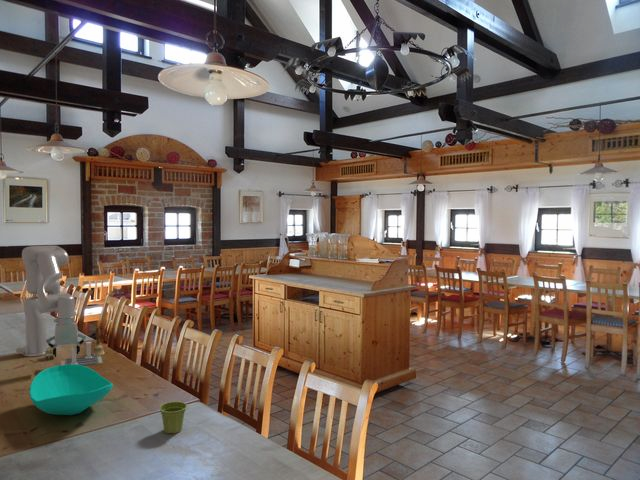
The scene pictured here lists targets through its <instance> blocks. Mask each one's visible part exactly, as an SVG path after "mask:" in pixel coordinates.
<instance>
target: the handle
mask: <svg viewBox="0 0 640 480" xmlns="http://www.w3.org/2000/svg"><path fill="white" fill-rule="evenodd" d="M85 346H86V356H87V357H86V358H92V357H91V356H92V341H87V342H85Z"/></svg>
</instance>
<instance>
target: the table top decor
mask: <svg viewBox="0 0 640 480" xmlns="http://www.w3.org/2000/svg"><path fill="white" fill-rule="evenodd" d="M29 386H30V387H29V393H28V394H29V396H30V400H31V402H32V404H33V405H34V406H35V407H36V408H38V409H39V410H41V411H42V412H45V413H47V414H50V415H59V416H60V415H61V416H73V415H78V414H81V413H82V412H83V411H85V410H86V409H88V408H89V407H91V406H93V405H95V404H96V403H98V402H99V401H102V399H104V398H105V397H106V396H107V395H108V394H109V393H110V392H111V391H112V389H113V387H114V383H112V382H111V381H110V380H108V379H106V378H105V377H103V376H102V375H101V374H99V373H98V372H97V371H96V370H94V369H93V368H90V367H88V366H87V365H85V366H82V365H77V364H67V365H60V364H59V365H54V366H52V367H48V368H46V369H44V370H42V371H40V372H39V373H38V374H37V375H35V377H33V379H32V382H31V384H30V385H29Z"/></svg>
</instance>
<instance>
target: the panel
mask: <svg viewBox="0 0 640 480" xmlns="http://www.w3.org/2000/svg"><path fill="white" fill-rule="evenodd" d="M86 357H87V355H84V356H76V363H78V364H77V365H82V366H92V365H100V364H101V365H102V364H104V361H103V357H102V356H101V355H97V356H96V355H91V357H92V358H86ZM59 363H60V364H59V365H67V364H71V363H72V357H71V358H69V357H68V358H66V360H61V361H59Z"/></svg>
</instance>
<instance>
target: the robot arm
mask: <svg viewBox="0 0 640 480" xmlns="http://www.w3.org/2000/svg"><path fill="white" fill-rule="evenodd" d="M21 260H22V261H23V262H22V263H23V265H24V267H25V286H26V287H25V288H26V293H28V294H29V295H35V296H31V297H26V299H24V300H23V303H22V305H23V306H22V307H23V310H24V316H25V317H24V318H25V346H23V347H16V349H15V350H16V352H18V353H22V355H23V356H24V357H39V356H44V355H46V354H45V351H47V349H48V350H50V348H51V349H52V350H53V355H54V358H56V357H57V347H58V346H63V345H72V344H76V347H77V351H76V355H79V353H80V352H81V345H83V343H84V342H85V340H86V339H87V335H84V334H81V333H79V330H78V324H77V322H76V321H75V320H76V318H75V317H76V315H75V313H76V311H75V310H76V309H75V307H76V306H75V305H76V304H75V303H76V302H75V301H76V300H75V299H76V298H75V297H74V296H73V295H71V294H70V293H68V292H63V293H61V285H60V279H61V278H62V272H61V269H60V266H61V267H62V266H66V265H68V263H69V261H70V259H69V254H68V253H67V251H66V250H65V249H64V248H62V247H60V246H59V245H34V246H33V245H31V246H27V247H24V248H23V249H22V252H21ZM53 312H57V318H56V319H54V320H53V322H54V323H56V324H55V328H54V335H53V336H51V337H49V338H47V321H46V318H45V317H44V316H43V315H42V314H43V313H45V314H46V313H53ZM79 338H81V339H80V341H79ZM53 340H54V343H51V342H52V341H53ZM47 345H48V347H50V348H47Z"/></svg>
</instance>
